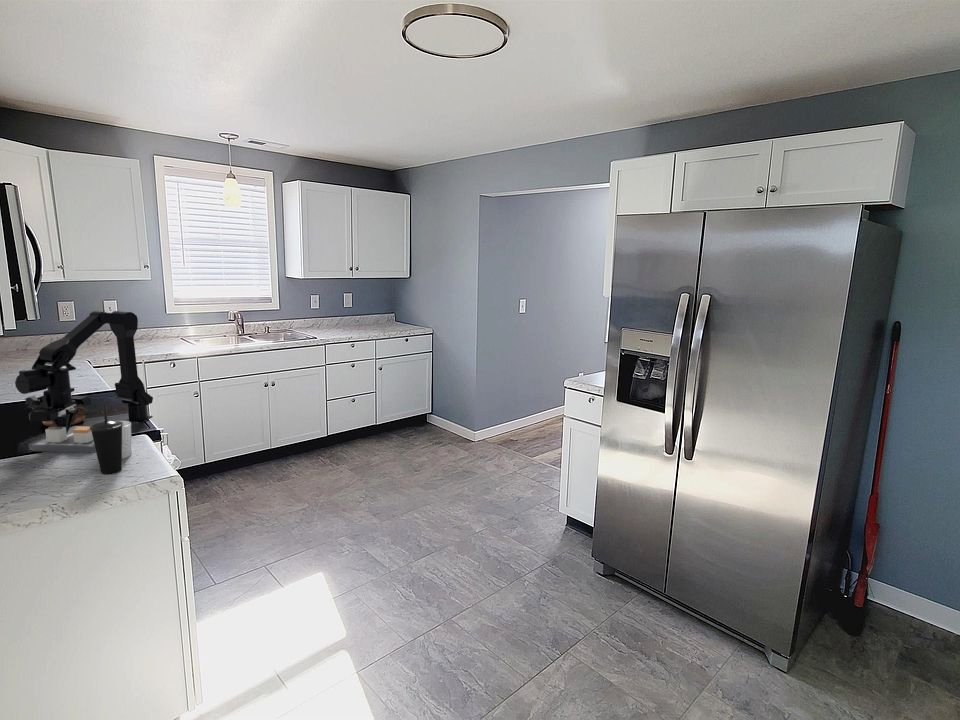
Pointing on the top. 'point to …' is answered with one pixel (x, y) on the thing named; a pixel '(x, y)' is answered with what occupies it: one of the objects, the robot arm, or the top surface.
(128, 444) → the white cup
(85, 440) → the orange fader
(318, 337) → the top surface
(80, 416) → the cup and saucer
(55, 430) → the block
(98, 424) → the drinking cup
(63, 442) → the grey square board
